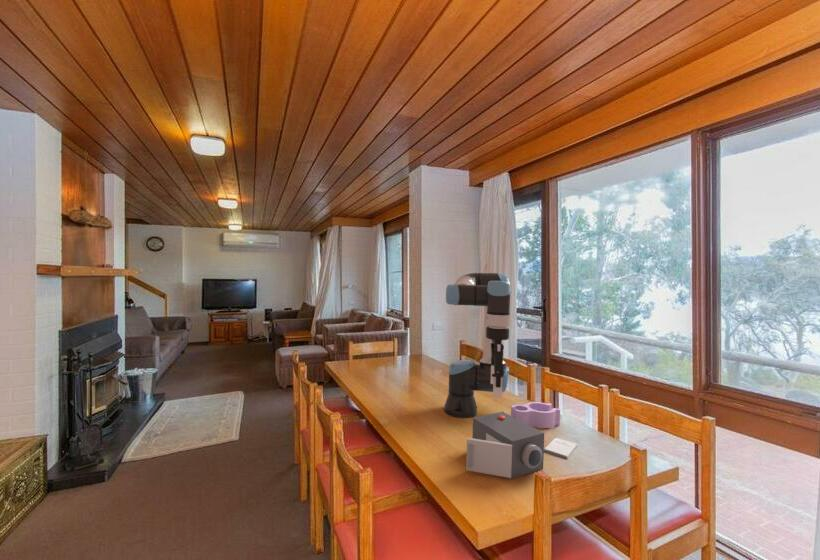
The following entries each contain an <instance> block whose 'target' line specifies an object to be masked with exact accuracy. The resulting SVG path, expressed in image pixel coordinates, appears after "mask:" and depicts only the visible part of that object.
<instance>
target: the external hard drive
mask: <svg viewBox="0 0 820 560" xmlns="http://www.w3.org/2000/svg"><path fill="white" fill-rule="evenodd" d="M576 448H578V444H577V443H576V442H571V441H569V440H565V439H562V438H559V437H554V439H552V440H551V441H550V443H548V444H547V446H545V447H544V453H547V454H551V455H554V456H557V457H560V458H563V459H566V460H569V458H570V456H571V455H572V454H573V452H574V451H575V450H576Z"/></svg>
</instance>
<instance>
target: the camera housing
mask: <svg viewBox="0 0 820 560" xmlns="http://www.w3.org/2000/svg"><path fill="white" fill-rule="evenodd" d="M471 438H473V439H480V440H486V441H492V442H499V443H505V444H511V445H512V465H511V478H510V479H511V480H513V479H516V478H519V477H522V476H525V475H529V474H532V473H534V472H538V471H541V470H543V469H544V460H545V459H544V458H545V457H544V456H545V455H544V454H545V452H544V449H545V432H543V431H542V430H540V429H539V428H536V427H532V426H530V425H528V424H526V423H524V422H522V421H520V420H518V419H516V418H514V417H512V416H511V414H509V413H506V412H504V411H500V412H494V413H490V414H484V415H481V416H480V415H479V416H476V417H475V416H474V417H472V437H471ZM540 469H541V470H540ZM531 472H532V473H531Z"/></svg>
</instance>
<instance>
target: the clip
mask: <svg viewBox="0 0 820 560" xmlns="http://www.w3.org/2000/svg"><path fill="white" fill-rule="evenodd" d="M552 404H553V403H551V402H550V403H549V402H548V403H545V402H539V401H531V402H527V403H525V404H513V405H511V407H510V416H512V417H514V418H516V419H518V420H520V421H522V422H524V423H526V424H528V425H530V426H532V427H534V428H536V427H537V428H536V429H541V428H550V429H553V428H555V427H556V426H557V427H558V426H560V425H561V409H560V408H555V407H552V406H553V405H552Z"/></svg>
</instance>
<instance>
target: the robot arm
mask: <svg viewBox="0 0 820 560" xmlns="http://www.w3.org/2000/svg"><path fill="white" fill-rule="evenodd" d="M445 288H446V289H445V302H446V304H447V305H449V306H450V305H452V306H453V305H454V306H475V307H484V308H483V309H484V310H483V312H484V313H483V314H484V315H483V319H484V321H483V347H482V348H483V349H482V350H483V352H482V358H481V359H479V364H476V362H475V361H474V360H470V359H460V360H455V361H452V362H451V363H450V364H449V368H448V394H447V398H446V400H445V403H444V413H445V414H446V415H448V416H451V417H454V418H455V417H456V418H462V419H464V418H466V419H467V418H474V417H475V416H476V415H477V414H478V405H477V402H476V399H475V396H474V395H475V391H477V392H490V393H492V397H493V398H503V393H504V392H506V389H507V387H508V382H509V375H510V373H509V371H510V368H509V366H507V365H506V362H505V361H504V350H505V346H504V343H503V342H504V341H507V340H509V339H510V328H509V327H510V325H511V324H510V323H511V322H510V321H511V314H510V313H511V312H510V309H511V293H512V289H511V282H510V280H509V276H508V274H505V273H498V272H497V273H496V272H493V273H492V272H489V273H488V272H471V273H467V274H463V275H462V276H460V277H458V278H457V279H456V280H455V283H454V284H447V286H446V287H445Z"/></svg>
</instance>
